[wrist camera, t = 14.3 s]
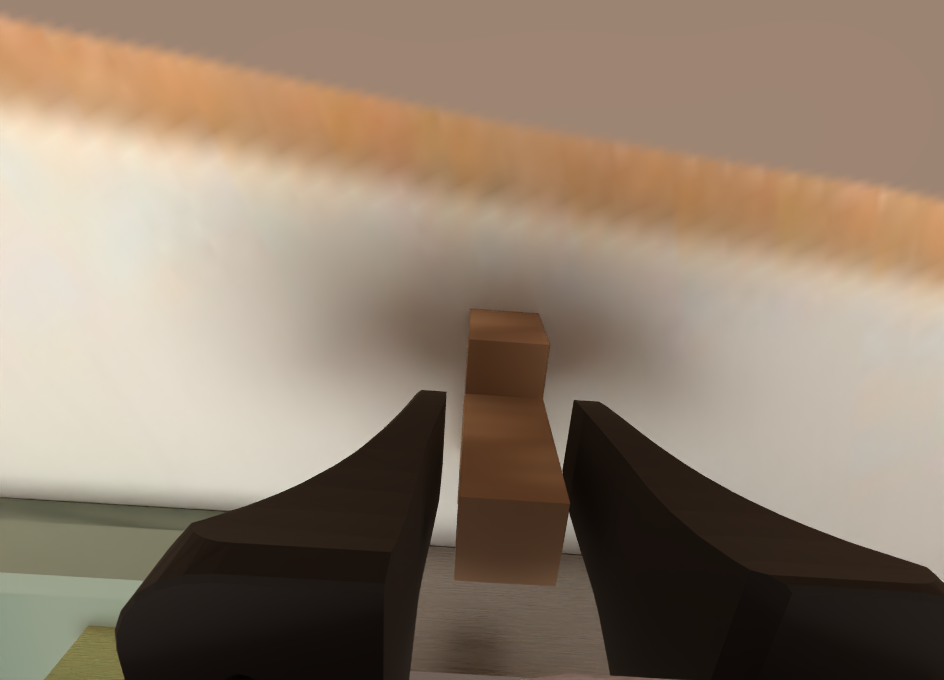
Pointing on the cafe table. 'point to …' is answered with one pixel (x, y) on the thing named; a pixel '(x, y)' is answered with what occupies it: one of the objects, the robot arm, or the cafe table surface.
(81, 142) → the cafe table surface
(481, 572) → the stepped wooden block
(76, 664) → the tan wooden square block
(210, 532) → the robot arm
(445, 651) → the grey open tray
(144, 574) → the tray
